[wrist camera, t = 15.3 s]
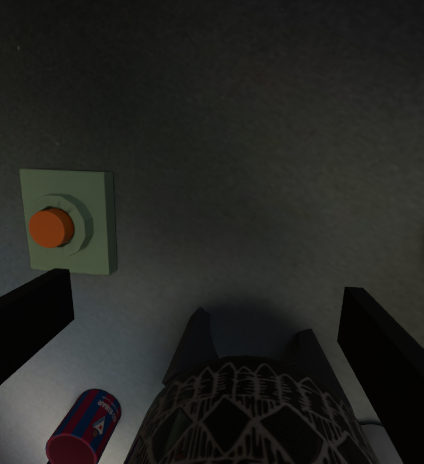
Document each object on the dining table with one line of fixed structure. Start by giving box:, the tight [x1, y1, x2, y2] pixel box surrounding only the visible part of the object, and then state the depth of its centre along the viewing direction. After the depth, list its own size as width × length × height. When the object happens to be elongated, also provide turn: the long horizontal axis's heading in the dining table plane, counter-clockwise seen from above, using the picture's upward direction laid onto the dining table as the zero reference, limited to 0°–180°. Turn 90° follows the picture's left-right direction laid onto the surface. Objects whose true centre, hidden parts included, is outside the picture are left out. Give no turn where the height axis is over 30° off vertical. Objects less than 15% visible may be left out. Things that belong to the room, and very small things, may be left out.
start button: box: [29, 209, 74, 248], centre depth 29 cm, size 4×4×2 cm
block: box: [19, 169, 117, 276], centre depth 32 cm, size 12×10×4 cm
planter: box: [124, 307, 380, 464], centre depth 22 cm, size 20×20×26 cm
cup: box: [46, 390, 121, 464], centre depth 37 cm, size 7×10×7 cm
